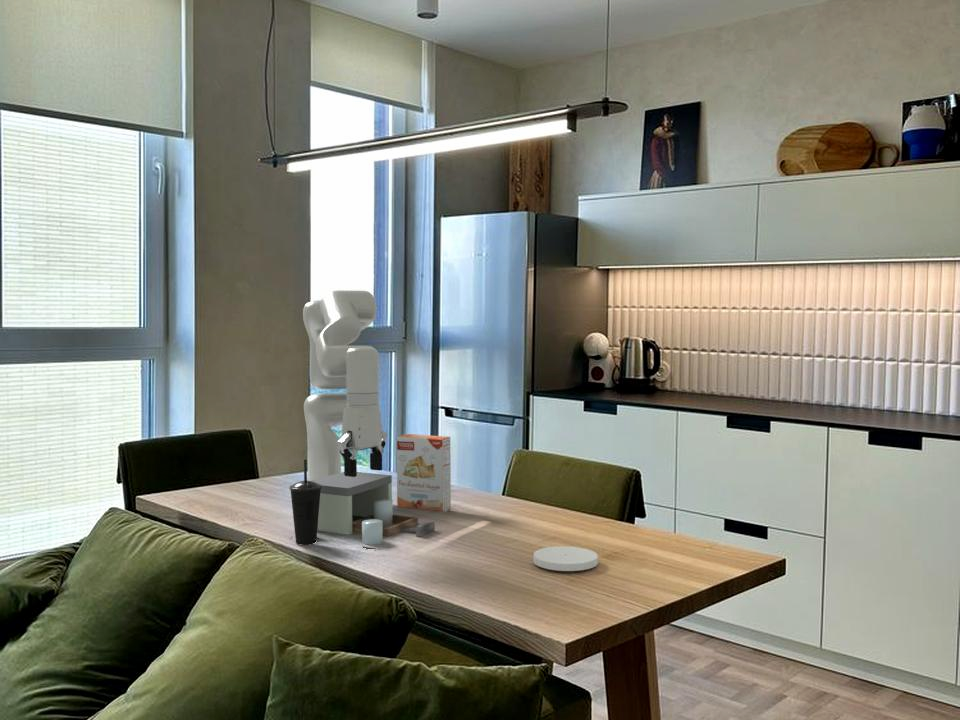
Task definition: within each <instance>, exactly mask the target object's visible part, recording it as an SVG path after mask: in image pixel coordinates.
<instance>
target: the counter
mask: <svg viewBox="0 0 960 720" xmlns="http://www.w3.org/2000/svg"><path fill="white" fill-rule="evenodd" d="M392 478H393V477H392V475H391V474H380V473H372V472H362V471H357V476H356V477H349V476H345V475H344V471H341V473H338V474H335V475H331V476H327V477H323V478H320V479H316V480H312V481H313V482H316V483H318V484H321V485H322V488H321V491H320V504H319V516H318V529H317V532H318V531H321V532H326V533H333V534H340V535H346V536H348V535H349V536H350V535H352V534H353V532H352V522H353V516H356V517H362V518H365V517H367V516H370V515H373V514H374V500H377V499H391V500H393V495H392V494H393V493H392V490H393V486H392V485H393V484H392V481H393V480H392Z"/></svg>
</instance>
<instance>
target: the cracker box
mask: <svg viewBox="0 0 960 720" xmlns="http://www.w3.org/2000/svg"><path fill="white" fill-rule="evenodd" d="M451 460H452V459H451V437H450V436H446V435H445V436H442V435H428V434H414V433H405V434H400V435H398V436H396V475H397V476H396V494H397V495H396V497H397V498H396V500H397V501H396V505H397V507H399V508H406V509H407V508H408V509H419V510H430V511H440V512H447V513H448V512H450V511H451V507H452V505H451V503H452V502H451V501H452V500H451V498H452V494H451V492H452V491H451V489H452V488H451V485H452V484H451V478H452V477H451V475H452V473H451V469H452V468H451V467H452V466H451V464H452V463H451Z"/></svg>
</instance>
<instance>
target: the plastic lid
mask: <svg viewBox="0 0 960 720" xmlns="http://www.w3.org/2000/svg"><path fill="white" fill-rule="evenodd" d="M532 556H533V557H532V558H533V563H534V564H535V565H536V566H538V567H540V568H542V569H546V570H551V571H558V572H575V571H577V572H579V571H584V570H590V569H592V568H593V569H594V567H597V566H598V564H599V554H598V553H597V552H596V551H593V550H590V549H587V548H584V547H583V548H582V547H578V546H567V545H566V546H551V547H543V548H540V549H537V550H536V551H533V555H532Z"/></svg>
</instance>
